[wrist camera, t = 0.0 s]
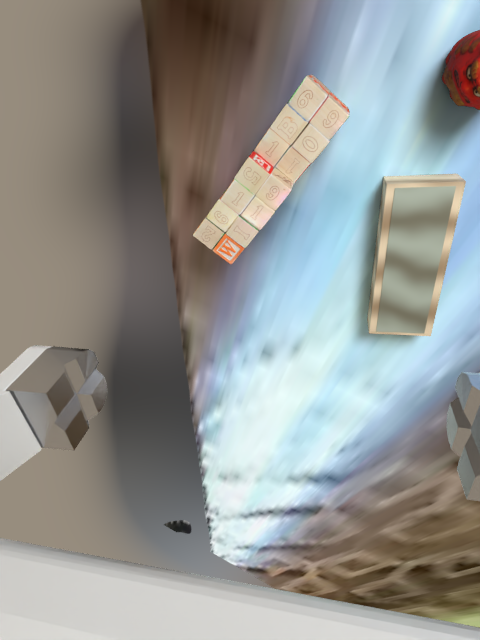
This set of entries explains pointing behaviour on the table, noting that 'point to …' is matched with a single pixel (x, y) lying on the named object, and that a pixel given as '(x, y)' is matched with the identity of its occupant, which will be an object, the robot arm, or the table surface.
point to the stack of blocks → (273, 168)
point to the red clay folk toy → (464, 71)
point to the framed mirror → (412, 251)
